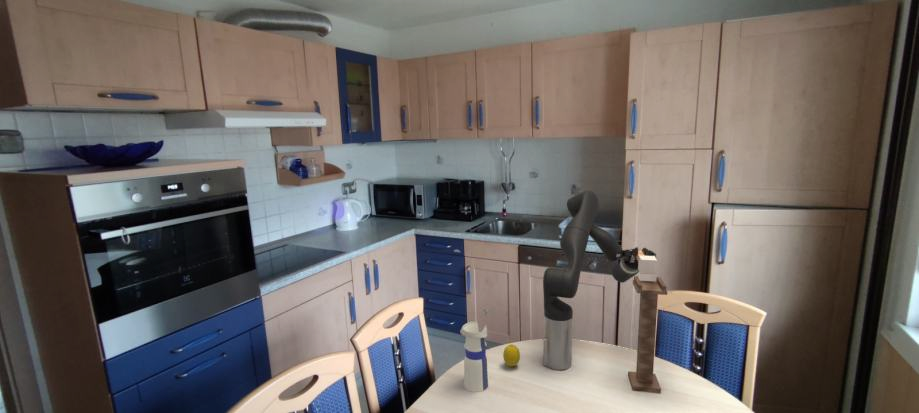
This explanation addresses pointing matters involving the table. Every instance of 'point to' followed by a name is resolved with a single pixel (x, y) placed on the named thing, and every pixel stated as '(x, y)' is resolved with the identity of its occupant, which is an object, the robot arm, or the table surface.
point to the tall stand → (646, 335)
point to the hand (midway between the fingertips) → (641, 250)
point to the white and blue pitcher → (475, 357)
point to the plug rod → (646, 263)
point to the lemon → (511, 355)
